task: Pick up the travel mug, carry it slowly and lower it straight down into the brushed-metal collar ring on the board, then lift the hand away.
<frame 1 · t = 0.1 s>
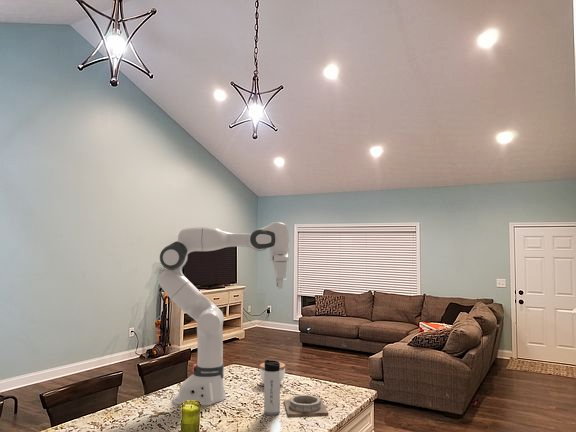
hand: (279, 287, 195), 48 cm above the table, tool pointing down, fingers open, 8 cm apart
travel mug: (271, 413, 170), on the table
collar board: (305, 408, 175), on the table
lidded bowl: (272, 384, 208), on the table
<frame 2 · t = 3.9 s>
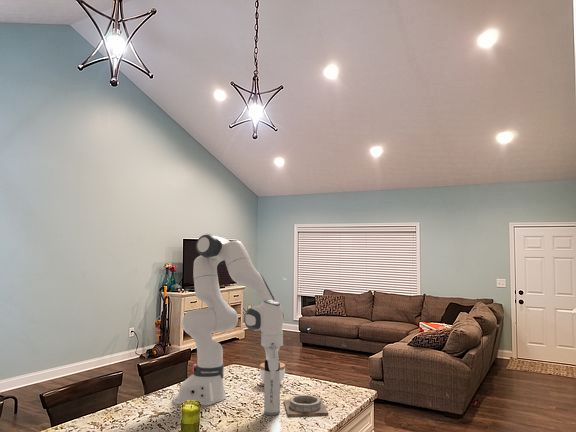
hand: (271, 376, 171), 14 cm above the table, tool pointing down, fingers closed on travel mug, 6 cm apart
travel mug: (271, 413, 170), on the table, touching gripper
everything else where it was.
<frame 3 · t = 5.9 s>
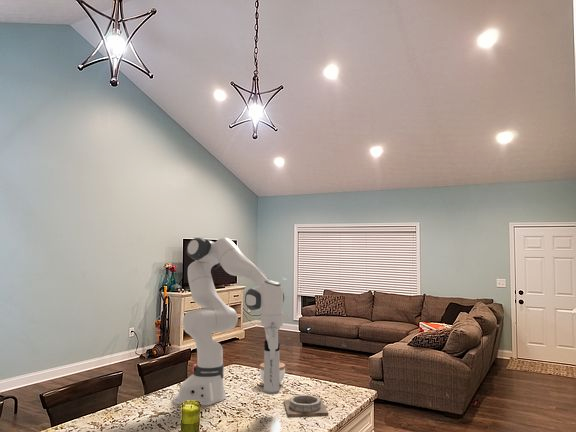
hand: (271, 355, 172), 22 cm above the table, tool pointing down, fingers closed on travel mug, 6 cm apart
travel mug: (271, 392, 171), point 8 cm above the table, touching gripper
everything else where it was.
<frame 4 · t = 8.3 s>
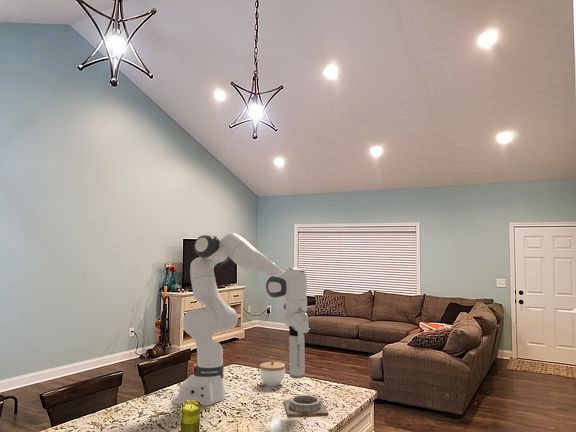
hand: (296, 340, 176), 27 cm above the table, tool pointing down, fingers closed on travel mug, 6 cm apart
travel mug: (296, 377, 174), point 13 cm above the table, touching gripper
everything else where it was.
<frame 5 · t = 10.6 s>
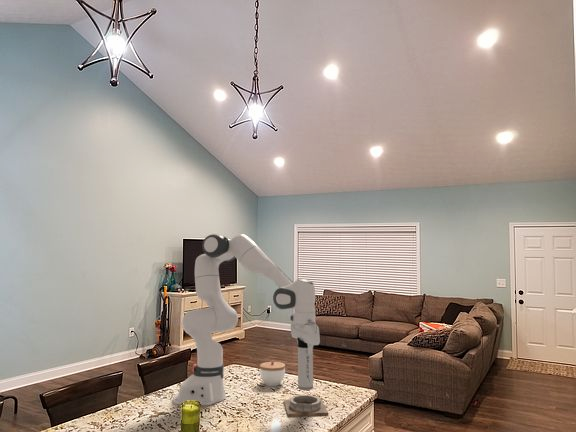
hand: (305, 352, 177), 22 cm above the table, tool pointing down, fingers closed on travel mug, 6 cm apart
travel mug: (305, 388, 175), point 8 cm above the table, touching gripper
everything else where it was.
when the fingers open (17 cm above the table, at t = 12.5 s): travel mug drops 1 cm, resting on collar board.
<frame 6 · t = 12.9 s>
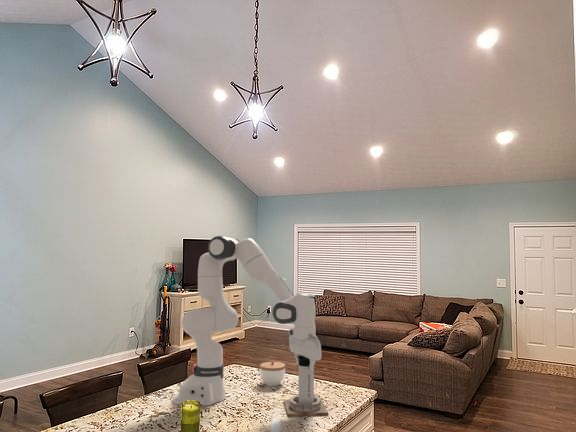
hand: (305, 367, 176), 17 cm above the table, tool pointing down, fingers open, 8 cm apart
travel mug: (305, 407, 174), point 1 cm above the table, touching collar board
everything else where it was.
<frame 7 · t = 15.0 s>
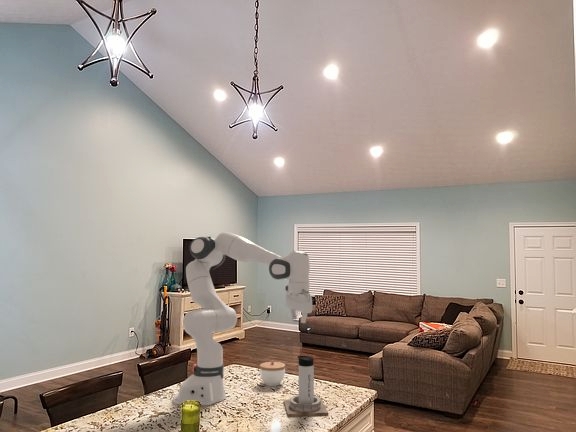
hand: (298, 320, 183), 34 cm above the table, tool pointing down, fingers open, 8 cm apart
nothing on the table moved.
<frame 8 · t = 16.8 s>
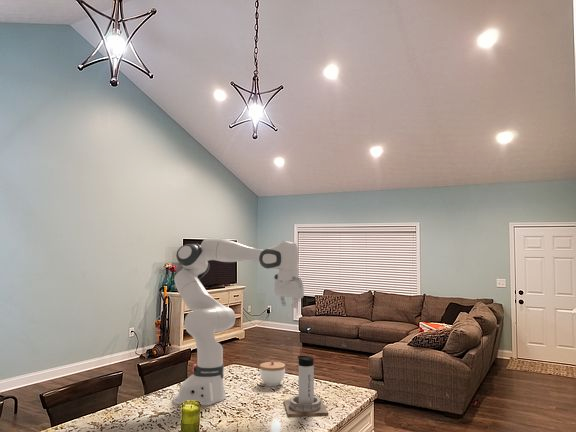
hand: (288, 306, 194), 39 cm above the table, tool pointing down, fingers open, 8 cm apart
nothing on the table moved.
at the end: travel mug 0.6 cm off-centre on the collar board, point 0.8 cm above the collar board's base; travel mug tilted 0°; the gripper is holding nothing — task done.
